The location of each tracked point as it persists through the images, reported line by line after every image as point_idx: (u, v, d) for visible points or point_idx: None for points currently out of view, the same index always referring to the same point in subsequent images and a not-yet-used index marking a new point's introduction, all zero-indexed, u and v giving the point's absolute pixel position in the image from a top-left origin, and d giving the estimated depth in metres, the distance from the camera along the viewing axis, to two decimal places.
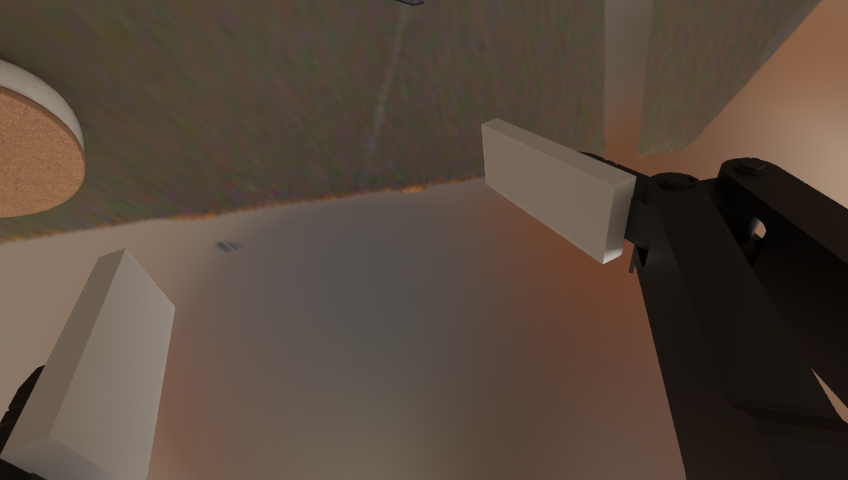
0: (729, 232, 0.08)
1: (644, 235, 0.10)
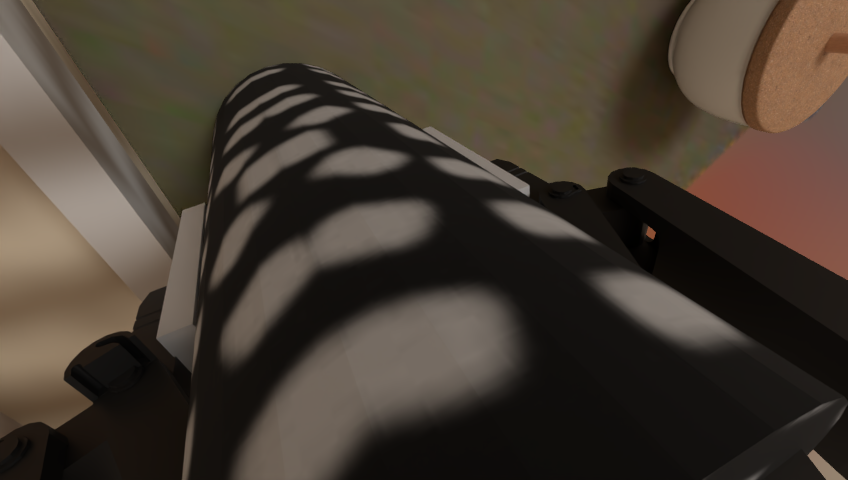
0: (615, 233, 0.08)
1: None
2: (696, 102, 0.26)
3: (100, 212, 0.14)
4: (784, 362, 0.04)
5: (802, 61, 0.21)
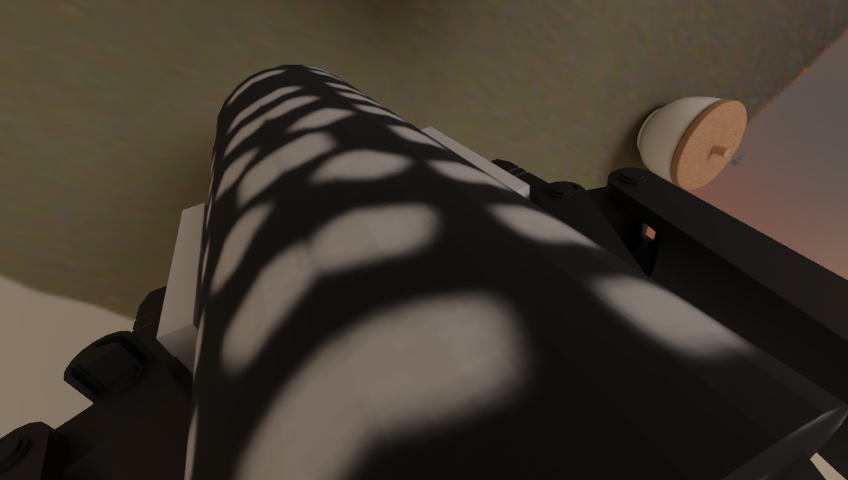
0: (615, 233, 0.08)
1: None
2: (651, 171, 0.48)
3: None
4: (786, 369, 0.04)
5: (698, 158, 0.43)
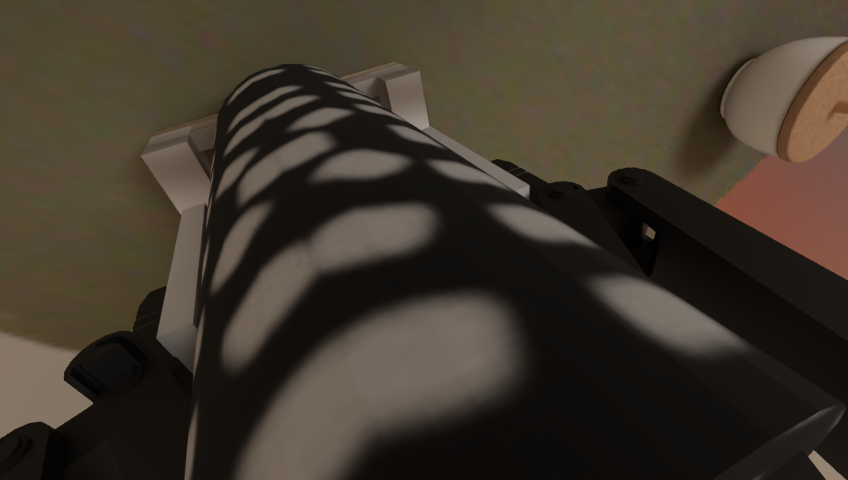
0: (615, 234, 0.08)
1: None
2: (742, 140, 0.37)
3: None
4: (783, 368, 0.04)
5: (818, 118, 0.33)
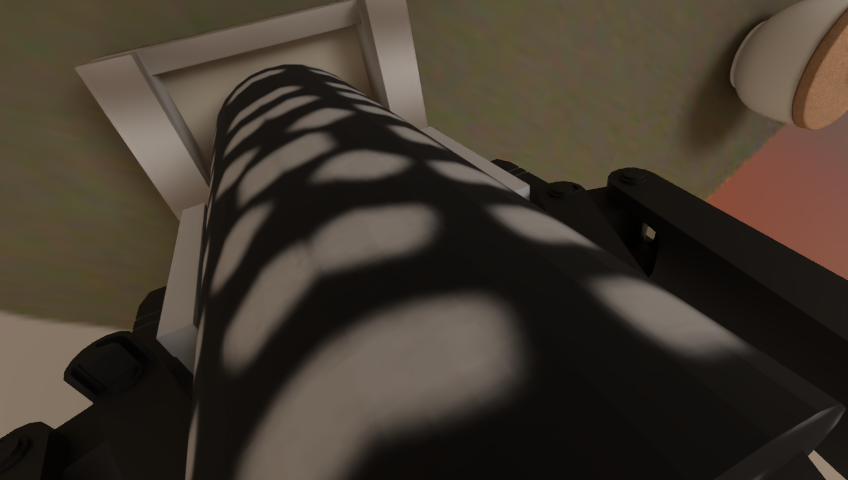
0: (615, 233, 0.08)
1: None
2: (753, 107, 0.35)
3: None
4: (782, 369, 0.04)
5: (837, 78, 0.30)
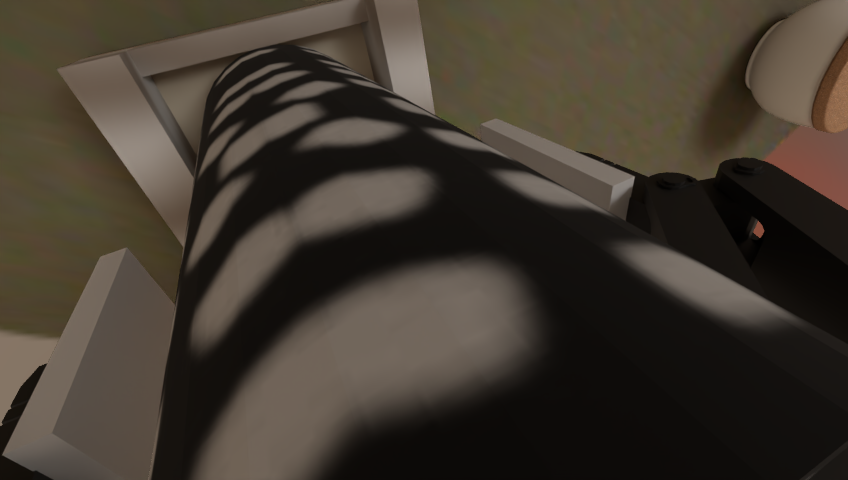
0: (727, 232, 0.08)
1: None
2: (770, 109, 0.34)
3: None
4: (844, 344, 0.03)
5: None
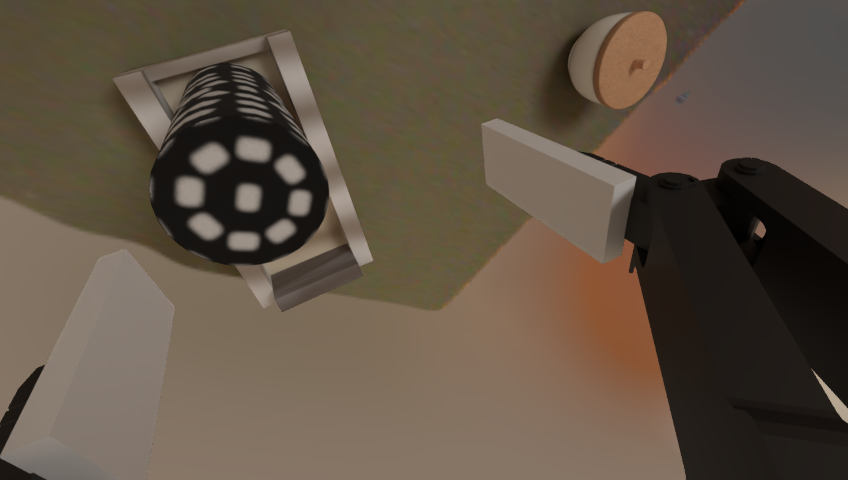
0: (729, 232, 0.08)
1: (644, 235, 0.10)
2: (581, 94, 0.49)
3: (319, 141, 0.37)
4: (270, 119, 0.18)
5: (619, 73, 0.44)
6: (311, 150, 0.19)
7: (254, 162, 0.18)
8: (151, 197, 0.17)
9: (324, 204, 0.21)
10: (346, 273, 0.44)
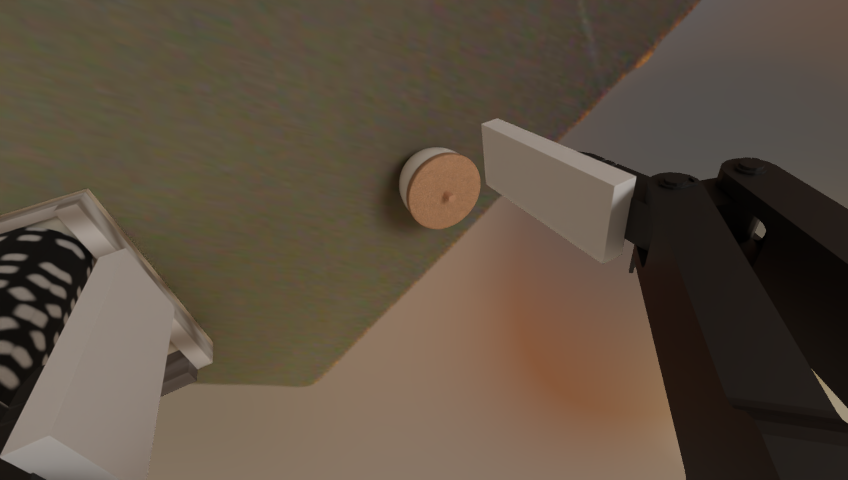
0: (729, 232, 0.08)
1: (644, 235, 0.10)
2: None
3: None
4: None
5: (431, 203, 0.49)
6: None
7: None
8: None
9: None
10: (177, 381, 0.48)
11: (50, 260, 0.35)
